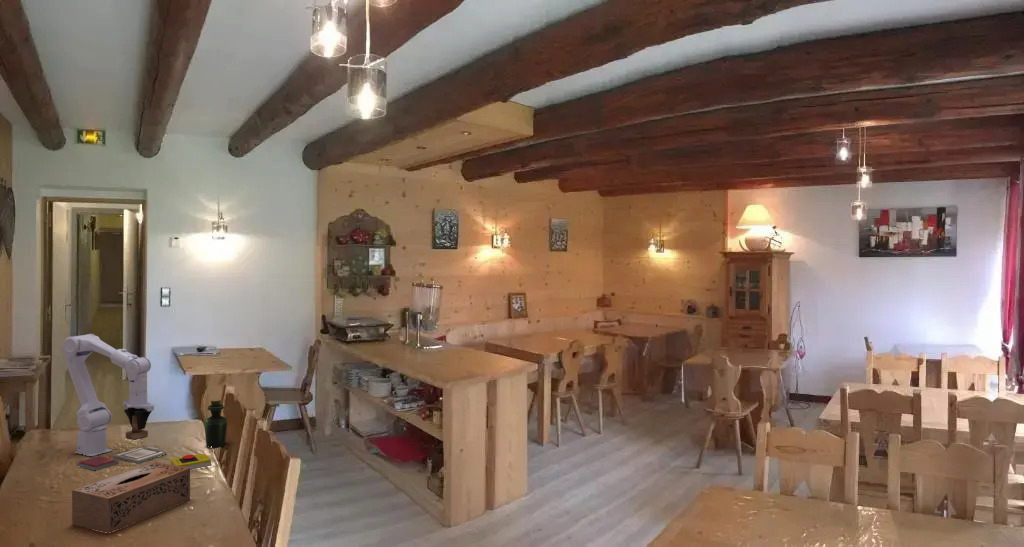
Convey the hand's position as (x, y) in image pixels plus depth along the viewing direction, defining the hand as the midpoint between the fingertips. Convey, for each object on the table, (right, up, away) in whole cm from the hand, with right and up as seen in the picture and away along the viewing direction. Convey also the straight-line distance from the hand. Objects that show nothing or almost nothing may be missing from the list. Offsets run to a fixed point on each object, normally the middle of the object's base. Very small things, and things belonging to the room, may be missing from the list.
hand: (138, 428), depth 229 cm
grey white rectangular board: (0, -10, +1) cm, 10 cm away
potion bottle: (+22, -11, +14) cm, 28 cm away
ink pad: (-9, -11, -9) cm, 17 cm away
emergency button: (+24, -12, -9) cm, 28 cm away
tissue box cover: (+27, -13, -47) cm, 56 cm away
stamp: (0, -3, 0) cm, 3 cm away
